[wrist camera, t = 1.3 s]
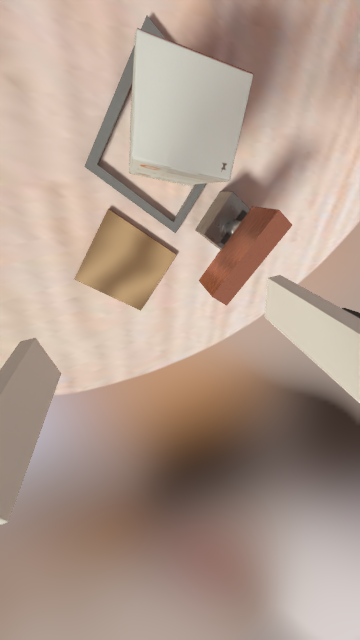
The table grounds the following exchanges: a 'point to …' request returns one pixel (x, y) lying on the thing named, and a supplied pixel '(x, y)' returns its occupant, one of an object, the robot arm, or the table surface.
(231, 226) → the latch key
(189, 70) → the small box
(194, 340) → the table surface
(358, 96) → the table surface
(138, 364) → the table surface
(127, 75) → the seat rim
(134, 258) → the cork pad
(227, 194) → the key housing
